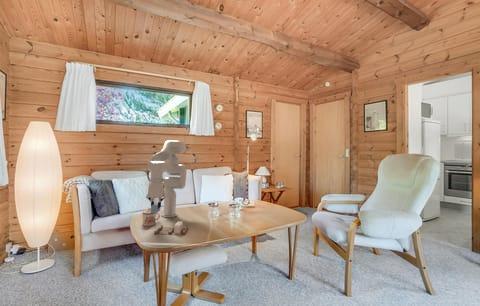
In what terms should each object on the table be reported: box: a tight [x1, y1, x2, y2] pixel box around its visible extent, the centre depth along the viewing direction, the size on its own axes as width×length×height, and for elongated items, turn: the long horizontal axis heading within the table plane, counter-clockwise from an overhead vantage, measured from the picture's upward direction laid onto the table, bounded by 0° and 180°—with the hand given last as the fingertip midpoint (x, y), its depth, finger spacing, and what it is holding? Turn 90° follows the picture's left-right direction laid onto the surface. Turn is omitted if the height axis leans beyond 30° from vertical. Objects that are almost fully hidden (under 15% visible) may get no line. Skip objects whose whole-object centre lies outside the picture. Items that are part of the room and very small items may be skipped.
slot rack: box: [153, 224, 189, 236], centre depth 155 cm, size 14×19×2 cm
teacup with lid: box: [142, 207, 161, 227], centre depth 171 cm, size 12×9×12 cm
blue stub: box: [150, 202, 161, 213], centre depth 160 cm, size 9×4×5 cm, turn 3°
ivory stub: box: [173, 220, 184, 234], centre depth 155 cm, size 9×4×5 cm, turn 2°
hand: (155, 207), depth 160 cm, fingers closed on blue stub, 3 cm apart
